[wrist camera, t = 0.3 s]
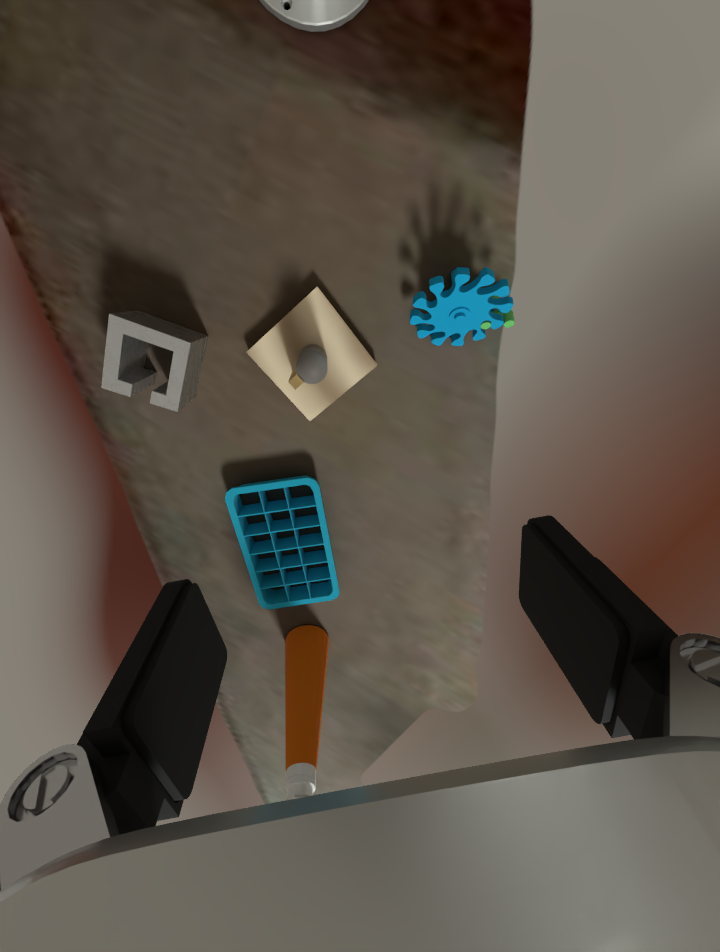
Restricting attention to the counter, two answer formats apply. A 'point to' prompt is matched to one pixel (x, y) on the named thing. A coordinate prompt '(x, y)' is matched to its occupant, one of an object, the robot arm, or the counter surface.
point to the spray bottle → (304, 706)
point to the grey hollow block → (129, 357)
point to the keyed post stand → (312, 355)
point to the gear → (463, 307)
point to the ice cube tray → (284, 544)
